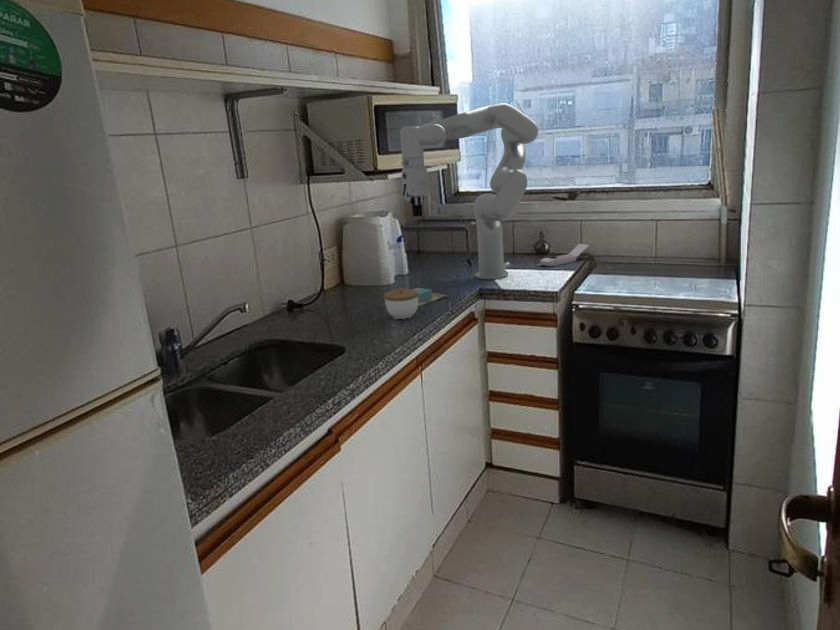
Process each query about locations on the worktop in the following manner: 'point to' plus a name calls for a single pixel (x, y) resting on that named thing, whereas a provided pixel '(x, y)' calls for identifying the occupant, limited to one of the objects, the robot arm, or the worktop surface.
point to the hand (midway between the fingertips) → (417, 215)
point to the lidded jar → (401, 303)
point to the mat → (435, 296)
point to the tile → (424, 294)
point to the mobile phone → (564, 257)
